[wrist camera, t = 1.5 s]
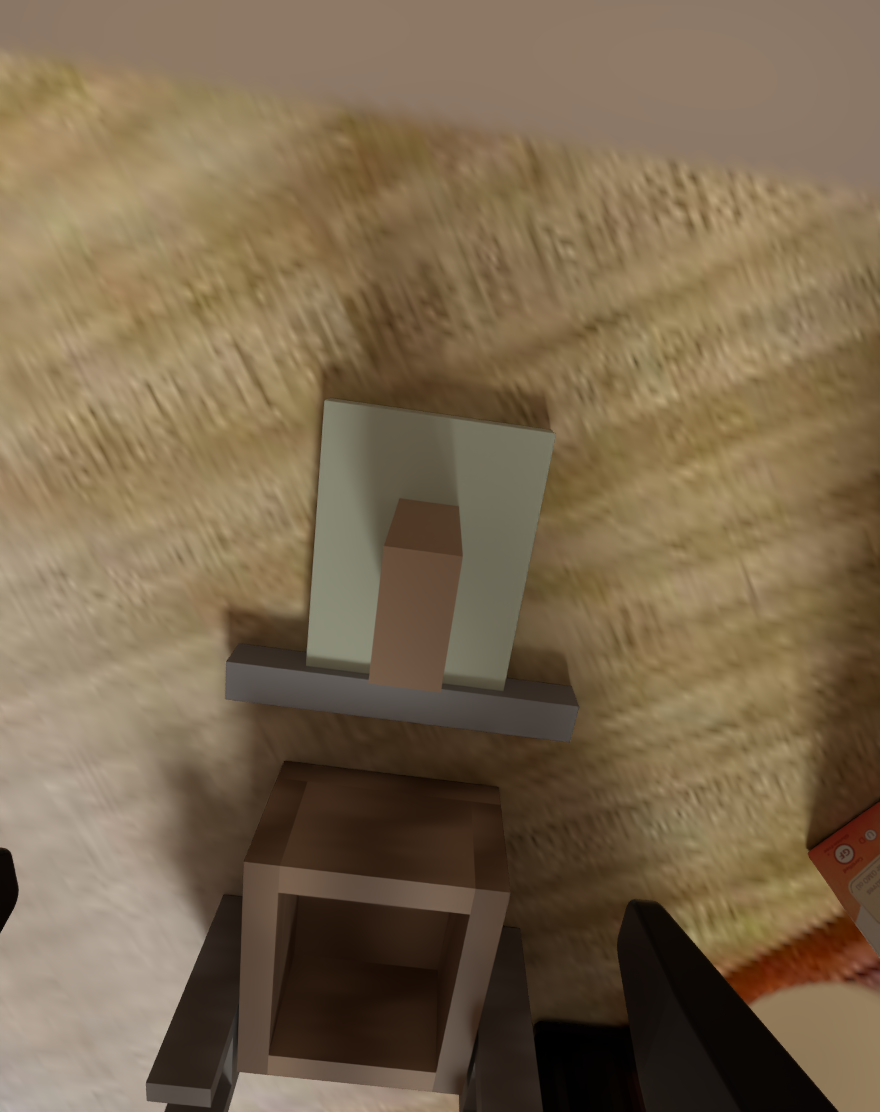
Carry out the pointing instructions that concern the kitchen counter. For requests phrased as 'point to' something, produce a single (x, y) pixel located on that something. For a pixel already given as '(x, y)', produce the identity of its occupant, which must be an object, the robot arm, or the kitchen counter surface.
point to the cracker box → (855, 871)
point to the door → (417, 577)
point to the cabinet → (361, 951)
